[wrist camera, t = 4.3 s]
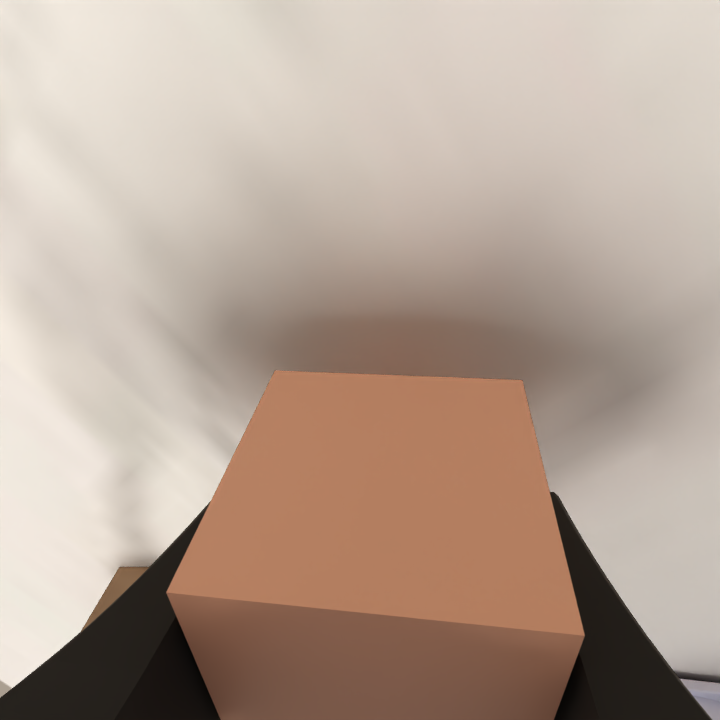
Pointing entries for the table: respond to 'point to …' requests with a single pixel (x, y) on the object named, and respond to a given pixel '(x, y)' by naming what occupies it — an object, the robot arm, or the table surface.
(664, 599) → the table surface
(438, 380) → the terracotta cube
